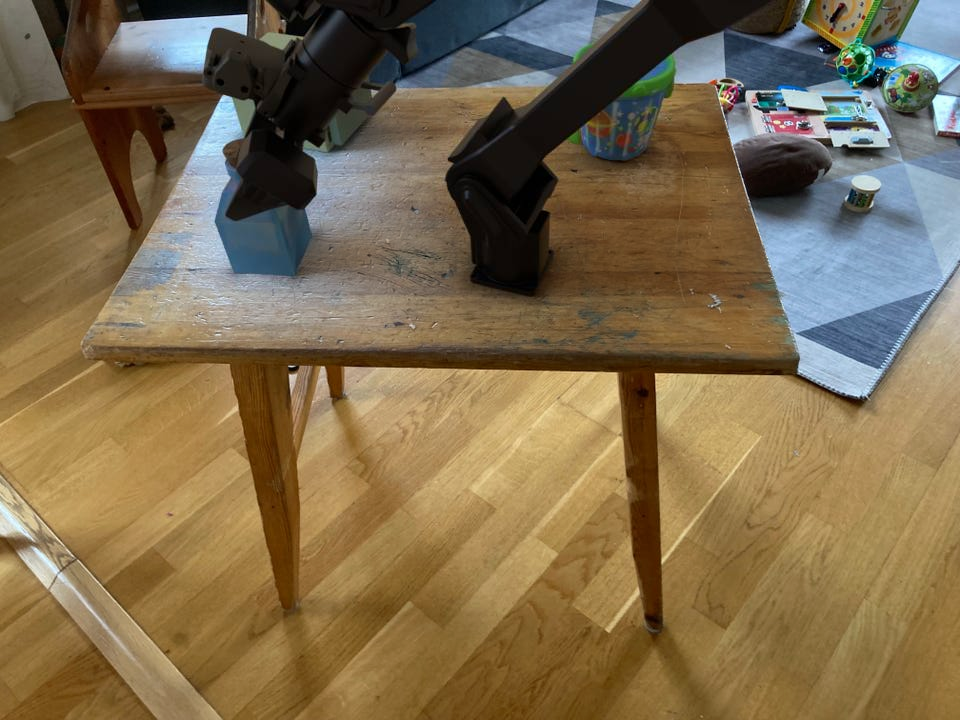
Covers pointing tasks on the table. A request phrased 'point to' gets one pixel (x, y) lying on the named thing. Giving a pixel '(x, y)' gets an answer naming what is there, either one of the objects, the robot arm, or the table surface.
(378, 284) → the table surface
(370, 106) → the drawer
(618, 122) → the snack cup
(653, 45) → the robot arm
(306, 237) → the perfume bottle
